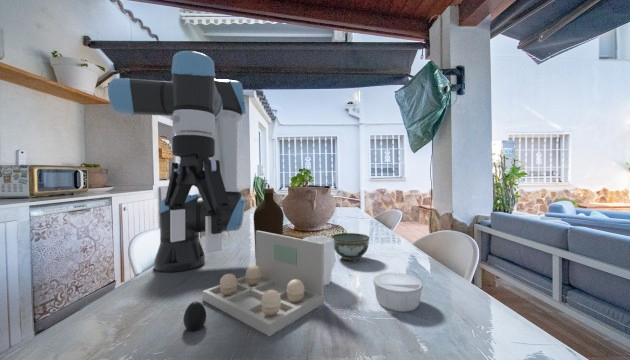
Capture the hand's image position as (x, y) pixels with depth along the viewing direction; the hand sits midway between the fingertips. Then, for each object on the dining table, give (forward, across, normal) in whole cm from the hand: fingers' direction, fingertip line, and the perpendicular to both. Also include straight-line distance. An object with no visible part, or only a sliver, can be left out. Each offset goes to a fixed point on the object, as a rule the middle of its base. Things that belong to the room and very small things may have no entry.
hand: (194, 246), depth 53 cm
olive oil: (+16, -22, +39) cm, 48 cm away
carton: (+16, +2, +15) cm, 22 cm away
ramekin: (+16, +27, +35) cm, 47 cm away
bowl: (+16, +1, +57) cm, 59 cm away
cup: (+16, +5, +33) cm, 37 cm away
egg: (+16, 0, 0) cm, 16 cm away
